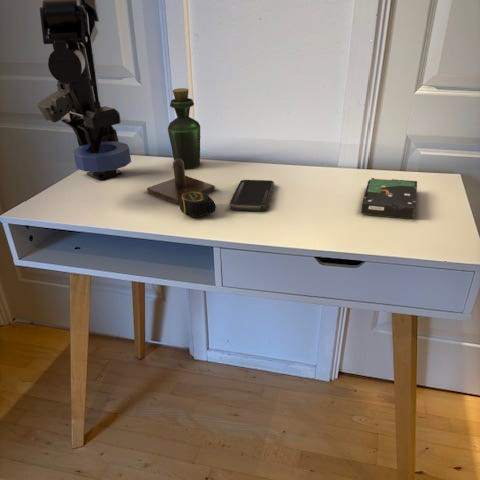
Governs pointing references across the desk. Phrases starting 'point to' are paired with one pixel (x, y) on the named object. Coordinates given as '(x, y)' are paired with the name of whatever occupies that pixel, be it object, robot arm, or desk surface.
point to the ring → (102, 157)
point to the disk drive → (390, 198)
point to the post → (179, 185)
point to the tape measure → (196, 204)
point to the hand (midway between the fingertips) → (91, 154)
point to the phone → (252, 195)
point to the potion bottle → (184, 131)
